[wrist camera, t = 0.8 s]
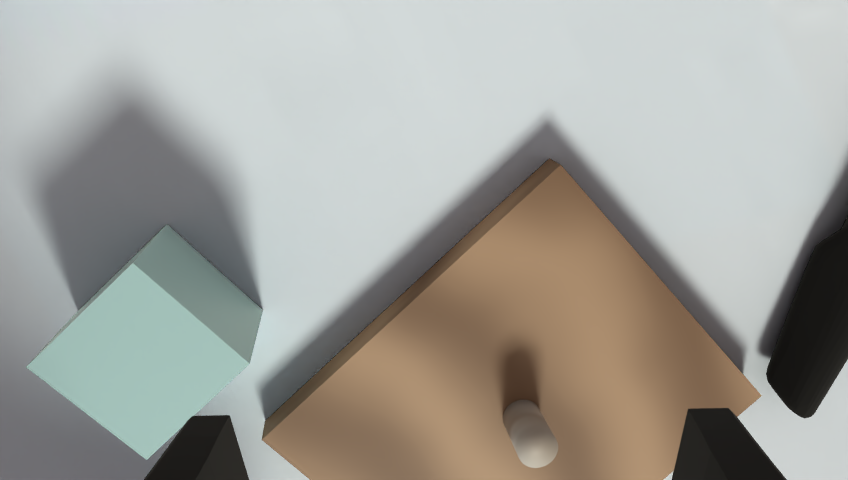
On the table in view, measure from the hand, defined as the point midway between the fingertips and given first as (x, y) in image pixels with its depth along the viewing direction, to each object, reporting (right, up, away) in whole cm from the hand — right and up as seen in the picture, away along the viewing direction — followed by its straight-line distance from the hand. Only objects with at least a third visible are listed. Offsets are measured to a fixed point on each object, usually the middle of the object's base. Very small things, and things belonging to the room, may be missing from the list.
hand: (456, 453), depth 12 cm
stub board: (+3, -4, +20) cm, 21 cm away
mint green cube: (-11, +1, +17) cm, 20 cm away
